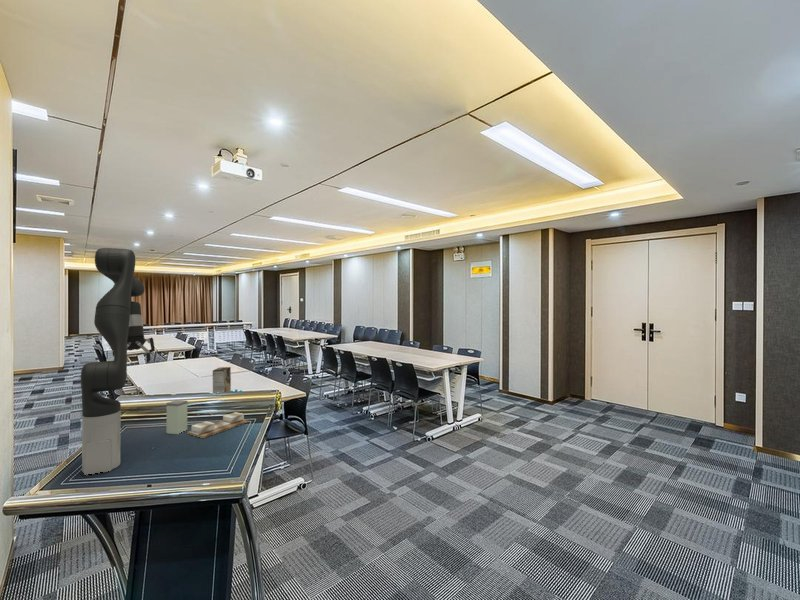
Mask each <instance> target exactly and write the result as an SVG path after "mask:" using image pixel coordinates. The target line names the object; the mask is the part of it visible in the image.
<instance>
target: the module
mask: <svg viewBox="0 0 800 600" xmlns="http://www.w3.org/2000/svg"><path fill="white" fill-rule="evenodd" d="M186 430H187V431H188V400H180V399H179V400H178V399H175V400H172V401H168V402H166V434H168V435H169V434H170V435H180V434H182V433H184V432H183V431H185V432H187V431H186ZM181 432H182V433H181ZM179 433H180V434H179Z"/></svg>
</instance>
